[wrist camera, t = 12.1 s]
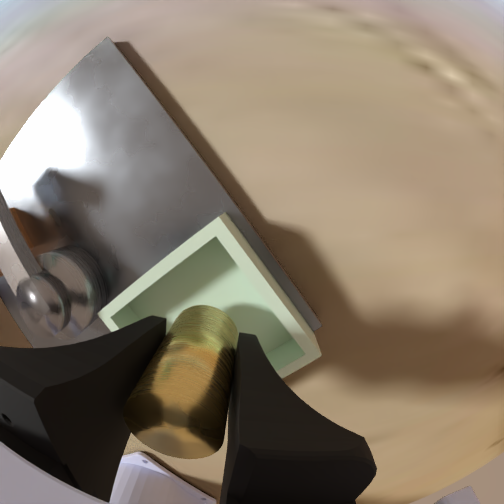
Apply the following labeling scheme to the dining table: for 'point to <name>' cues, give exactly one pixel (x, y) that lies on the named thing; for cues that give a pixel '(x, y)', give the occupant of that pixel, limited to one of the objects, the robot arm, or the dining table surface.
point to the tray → (220, 294)
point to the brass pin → (186, 386)
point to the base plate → (111, 192)
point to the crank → (31, 281)
